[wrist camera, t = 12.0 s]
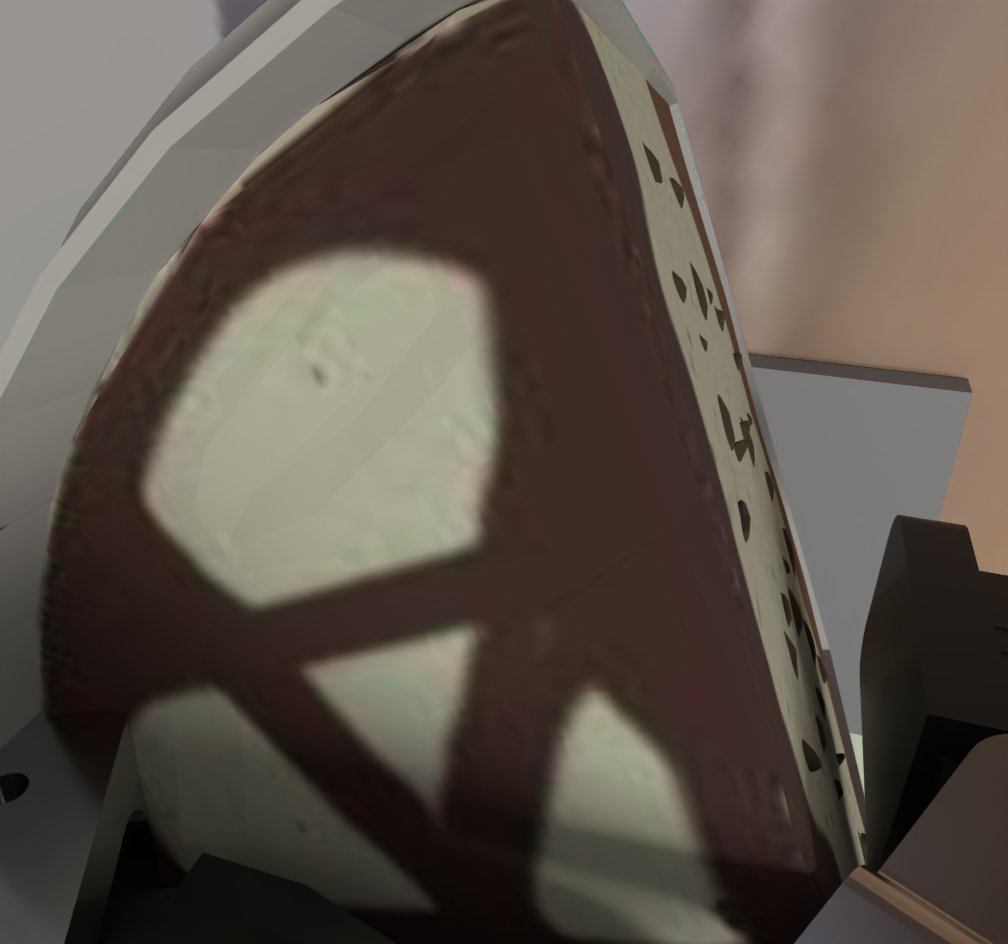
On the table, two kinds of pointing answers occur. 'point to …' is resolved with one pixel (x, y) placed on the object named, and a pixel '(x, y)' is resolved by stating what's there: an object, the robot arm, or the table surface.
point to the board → (857, 480)
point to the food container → (427, 492)
